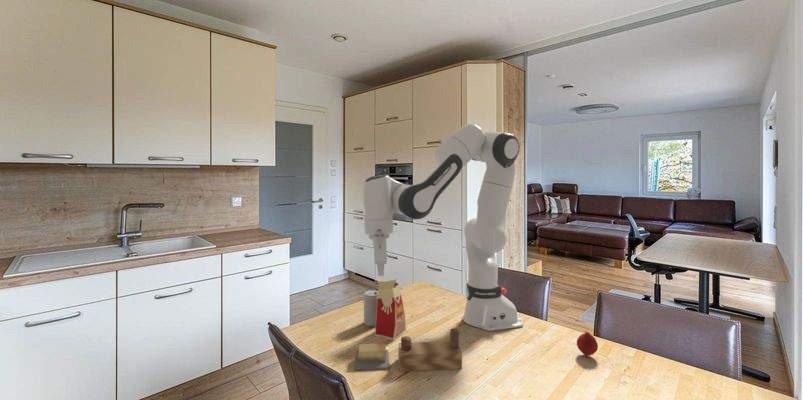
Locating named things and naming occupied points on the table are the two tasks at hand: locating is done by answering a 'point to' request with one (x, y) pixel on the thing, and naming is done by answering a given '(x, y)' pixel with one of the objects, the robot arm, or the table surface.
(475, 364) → the table surface
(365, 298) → the beverage can
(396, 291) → the milk carton
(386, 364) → the mat
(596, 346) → the onion
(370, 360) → the wooden block
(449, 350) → the plane body
